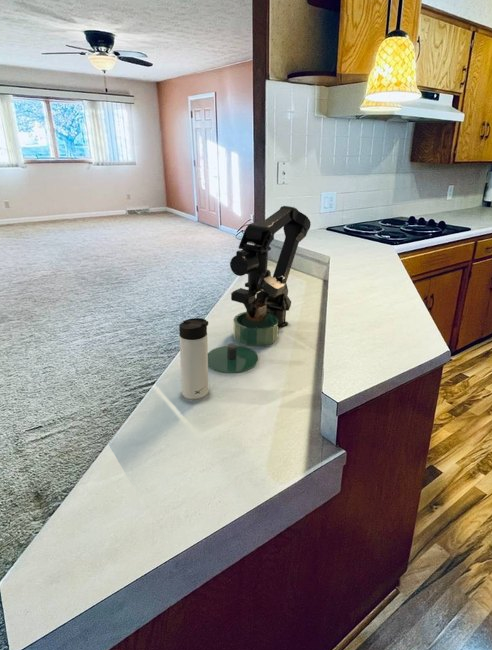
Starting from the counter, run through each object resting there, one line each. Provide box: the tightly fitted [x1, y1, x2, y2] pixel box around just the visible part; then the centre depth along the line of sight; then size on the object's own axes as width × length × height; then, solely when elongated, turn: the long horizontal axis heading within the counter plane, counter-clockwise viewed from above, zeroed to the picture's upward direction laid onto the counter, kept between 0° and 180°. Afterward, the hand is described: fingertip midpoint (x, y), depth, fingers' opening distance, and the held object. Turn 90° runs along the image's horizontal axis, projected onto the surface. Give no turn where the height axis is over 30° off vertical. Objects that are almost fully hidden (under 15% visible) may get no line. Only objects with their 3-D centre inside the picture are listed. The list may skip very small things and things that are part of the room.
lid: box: [208, 342, 259, 374], centre depth 115 cm, size 15×15×5 cm
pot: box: [232, 311, 279, 348], centre depth 129 cm, size 14×14×6 cm
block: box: [245, 302, 267, 322], centre depth 127 cm, size 4×4×4 cm
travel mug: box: [178, 317, 209, 402], centre depth 96 cm, size 6×7×20 cm
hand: (256, 315), depth 127 cm, fingers closed on block, 4 cm apart
